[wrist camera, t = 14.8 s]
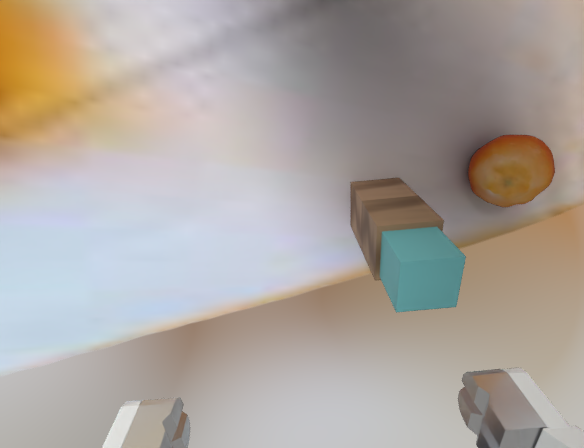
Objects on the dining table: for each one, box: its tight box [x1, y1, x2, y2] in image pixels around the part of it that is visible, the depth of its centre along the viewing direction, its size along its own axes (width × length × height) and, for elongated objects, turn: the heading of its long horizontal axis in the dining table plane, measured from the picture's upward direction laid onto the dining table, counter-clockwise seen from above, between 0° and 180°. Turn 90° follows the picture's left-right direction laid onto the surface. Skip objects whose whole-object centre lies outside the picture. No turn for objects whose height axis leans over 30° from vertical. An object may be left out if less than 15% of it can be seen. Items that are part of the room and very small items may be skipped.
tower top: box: [361, 196, 444, 280], centre depth 33 cm, size 6×6×6 cm
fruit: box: [468, 135, 555, 207], centre depth 36 cm, size 8×8×8 cm
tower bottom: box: [351, 178, 418, 248], centre depth 38 cm, size 6×6×6 cm
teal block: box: [380, 227, 466, 312], centre depth 28 cm, size 5×5×5 cm
